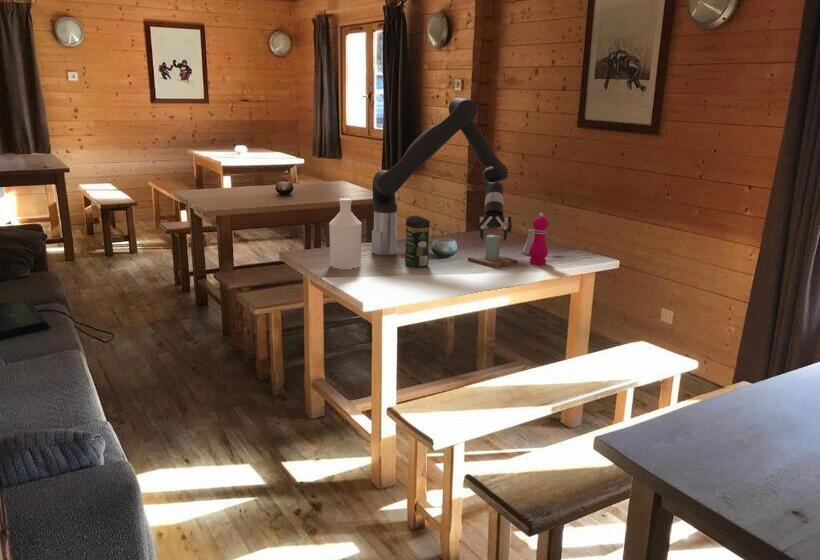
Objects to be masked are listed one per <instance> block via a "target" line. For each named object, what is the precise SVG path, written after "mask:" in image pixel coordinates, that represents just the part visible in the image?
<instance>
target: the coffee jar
mask: <svg viewBox="0 0 820 560" xmlns="http://www.w3.org/2000/svg"><path fill="white" fill-rule="evenodd" d="M430 224H431V223H430V220H429V219H428V218H424V217H421V216H420V215H409V216H408V217H407V218H406V221H405V254H404V262H405V264H407V266H409V267H413V268H424V267H427V266H429V263H430V262H429V258H430V257H429V251H430V250H429V246H430V245H429V242H430V241H429V239H430V238H429V237H430V236H429V234H430V229H431V225H430Z"/></svg>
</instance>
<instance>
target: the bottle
mask: <svg viewBox="0 0 820 560" xmlns="http://www.w3.org/2000/svg"><path fill="white" fill-rule="evenodd" d="M338 200H339V201H338V202H339V210H340V211H339V212H338V213H337V214H336V216H335V217H334V218H333V219H331V221H329V223H328V224H329V225H328V227H329V229H328V230H329V263H330V264H329V265H330V267H331V266H332V267H335V268H339V269H338V270H344V269H347V270H353V269H352V268H356V269H358V268H357V267H359V268H361V265H362V263H361V262H362V227H363V226H362V223H363V222H361V221H360V220H359V219H358V218H357V216H355V215H354V213H353V211H352V207H351V206H352V202H353V201H352V200H353V199H352V198H346V197H345V198H344V197H343V198H342V197H340V198H339V199H338ZM332 267H331V268H332ZM335 268H334V269H335Z"/></svg>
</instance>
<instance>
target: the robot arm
mask: <svg viewBox="0 0 820 560" xmlns="http://www.w3.org/2000/svg"><path fill="white" fill-rule="evenodd" d="M448 114H449V115H448V116H447V117H445V119H443V120H442V121H441V122H438V123H437V124H435V125H433V126H431V127H430V128H427V129H426V130H424V131H423V132H422V133H421V134H420V135H419V136H418V137H417V138H416V139H414V140H413V142H411V143H410V145H409V146H408V148H407V149H406V151H405V152H404V155H403V156H402V158H400V160H398V162H397V163H396V164H395V165H393V166H392V167H391V168H389V170H387V169H381V170H379V171H377V172H376V173H375V175H374V176H373V179H372V204H373V229H372V230H371V254H373V253H374V254H373V255H377V256H381V257H382V256H394V255H396V254H397V240H398V239H397V238H398V237H397V236H398V235H397V232H398V203H397V201H396V193H397V192H398V191H399V189H400V188H401V187H402V186H403V185H404V184H405V183H406V182H407V180H408V179H409V178H410V177H411V176H412V175H413V174H414V173H415V172H416V171H418V170H419V169H420V168H421V167H422V166H423V165H425V163H426V162H427V161H429V160H430V159H431V158H432V157H433V156H434V155H435V154H436V153H438V151H439V150H440V149H441V148H442V147H444V146H445V144H446V143H448V142H449V140H450V139H451V138H453V137H454V135H456V134H457V133H458V132H459V131H461V132H462V134H463V135H464V137H465V138H466V140H467V142H468V144H469V145H470V147H471V148H472V151H473V152H474V154H475V156H476V159H477V160H478V162H479V164H480V165H481V166H483V167H484V166H489V167H486V168H484V170H483V171H482V179H483V182H484V187H485V200H484V216H480V214H479V215H478V214H477V216H476V223H475V231H477V232H478V231H479V239H481V241H483V240H484V233H485V230H487V229H488V228H491V229H492V228H495V229H500V230H501V231H502V232H503V233H502V234H503V235H502V241H506V240H507V238H508V232H509V233H511V232H512V229H513V228H512V226H513V225H512V224H513V223H512V216H508V217H505V216H504V205H505V204H504V186H503V184H502V183H500V182H501V181H504V180H506V179H508V177H509V176H508V175H509V171H508V168H507V166H506V165H505V163H503V162H502V161H501V160H500V159H499V157H497V156H496V154H495V152H494V151H493V149H492V146H491V144H490V142H489V140H487V138H486V137H485V136H484V134H483V133H482V132H481V131H480V128H478V126H477V124H476V123H475V121H474V119H475V117H476V116H477V114H478V105H477V103H476V102H475V101H474V100H472V99H470V98H467V97H455V98H453V99H451V101H450V103H449V104H448ZM482 221H483V224H482V225H481V226H480V224H481V223H482ZM504 222H505V223H506V224H507V226H506V225H505V223H504Z"/></svg>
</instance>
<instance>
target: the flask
mask: <svg viewBox="0 0 820 560" xmlns="http://www.w3.org/2000/svg"><path fill="white" fill-rule="evenodd" d="M527 232H528V235H527V239H526V242H525V244H524V246H523V249H522V251H521V254H523V255H526V256H530V254H529V250H530V247H531V245H532V243H533V240H534V229H532V228H531V229H528V230H527Z"/></svg>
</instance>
